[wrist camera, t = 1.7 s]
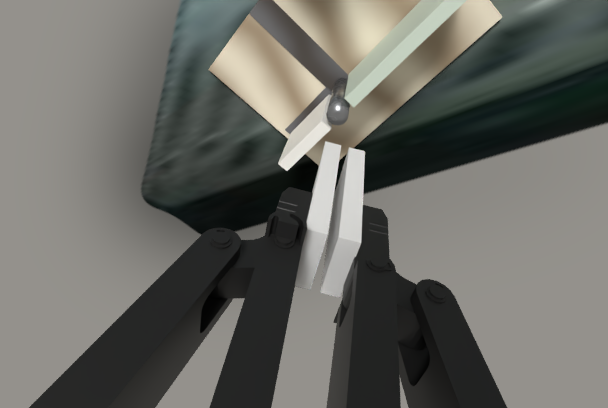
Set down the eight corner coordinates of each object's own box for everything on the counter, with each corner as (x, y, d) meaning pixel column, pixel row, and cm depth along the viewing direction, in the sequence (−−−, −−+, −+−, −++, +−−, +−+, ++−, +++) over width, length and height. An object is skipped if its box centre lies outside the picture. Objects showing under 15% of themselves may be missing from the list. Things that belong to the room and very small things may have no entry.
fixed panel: (329, 94, 43) (321, 120, 36) (336, 101, 43) (330, 129, 37) (290, 132, 46) (278, 163, 40) (298, 139, 46) (286, 171, 40)
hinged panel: (454, -34, 35) (471, -27, 28) (462, -23, 35) (481, -14, 29) (348, 73, 41) (344, 98, 35) (356, 81, 41) (353, 107, 35)
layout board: (368, -150, 32) (368, -152, 31) (501, 16, 37) (502, 17, 36) (210, 68, 44) (208, 69, 43) (326, 170, 49) (326, 172, 49)
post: (342, 73, 42) (337, 100, 35) (356, 86, 42) (352, 115, 36) (329, 87, 43) (321, 115, 36) (343, 99, 43) (337, 129, 37)
